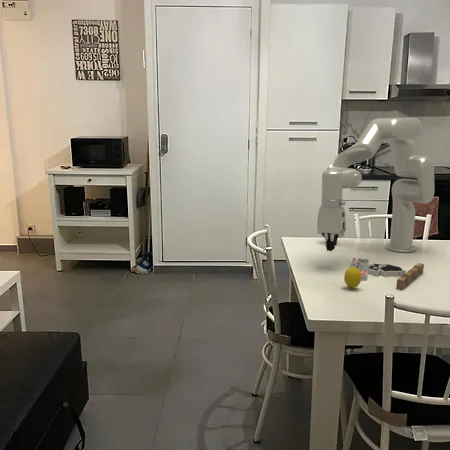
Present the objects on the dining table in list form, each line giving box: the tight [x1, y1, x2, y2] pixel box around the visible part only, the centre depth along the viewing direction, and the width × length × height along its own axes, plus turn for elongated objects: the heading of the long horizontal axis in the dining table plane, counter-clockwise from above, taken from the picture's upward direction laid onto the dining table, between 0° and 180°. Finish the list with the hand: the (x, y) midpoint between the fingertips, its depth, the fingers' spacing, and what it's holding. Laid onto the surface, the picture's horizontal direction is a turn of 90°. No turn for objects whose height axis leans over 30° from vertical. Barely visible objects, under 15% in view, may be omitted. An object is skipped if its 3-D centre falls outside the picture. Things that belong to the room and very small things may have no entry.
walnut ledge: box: [395, 262, 425, 291], centre depth 165 cm, size 24×2×4 cm, turn 141°
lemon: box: [343, 266, 362, 290], centre depth 156 cm, size 6×6×8 cm
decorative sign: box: [350, 257, 407, 282], centre depth 173 cm, size 22×2×20 cm
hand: (330, 250), depth 176 cm, fingers closed
